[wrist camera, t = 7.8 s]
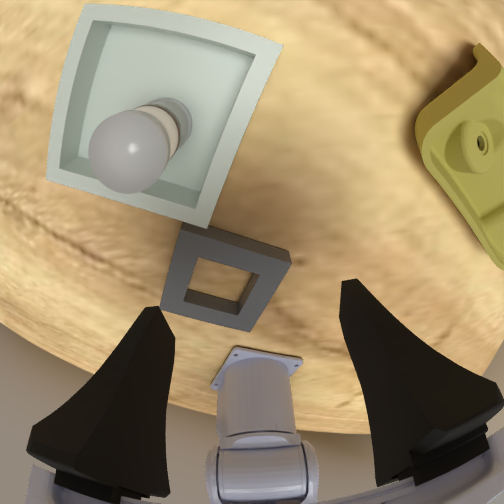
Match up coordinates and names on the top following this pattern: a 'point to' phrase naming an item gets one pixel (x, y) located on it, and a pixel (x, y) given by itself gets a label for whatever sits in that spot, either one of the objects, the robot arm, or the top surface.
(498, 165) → the plastic component
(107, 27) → the parts tray
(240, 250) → the gray square frame
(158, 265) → the top surface
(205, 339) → the top surface
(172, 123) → the cylinder
